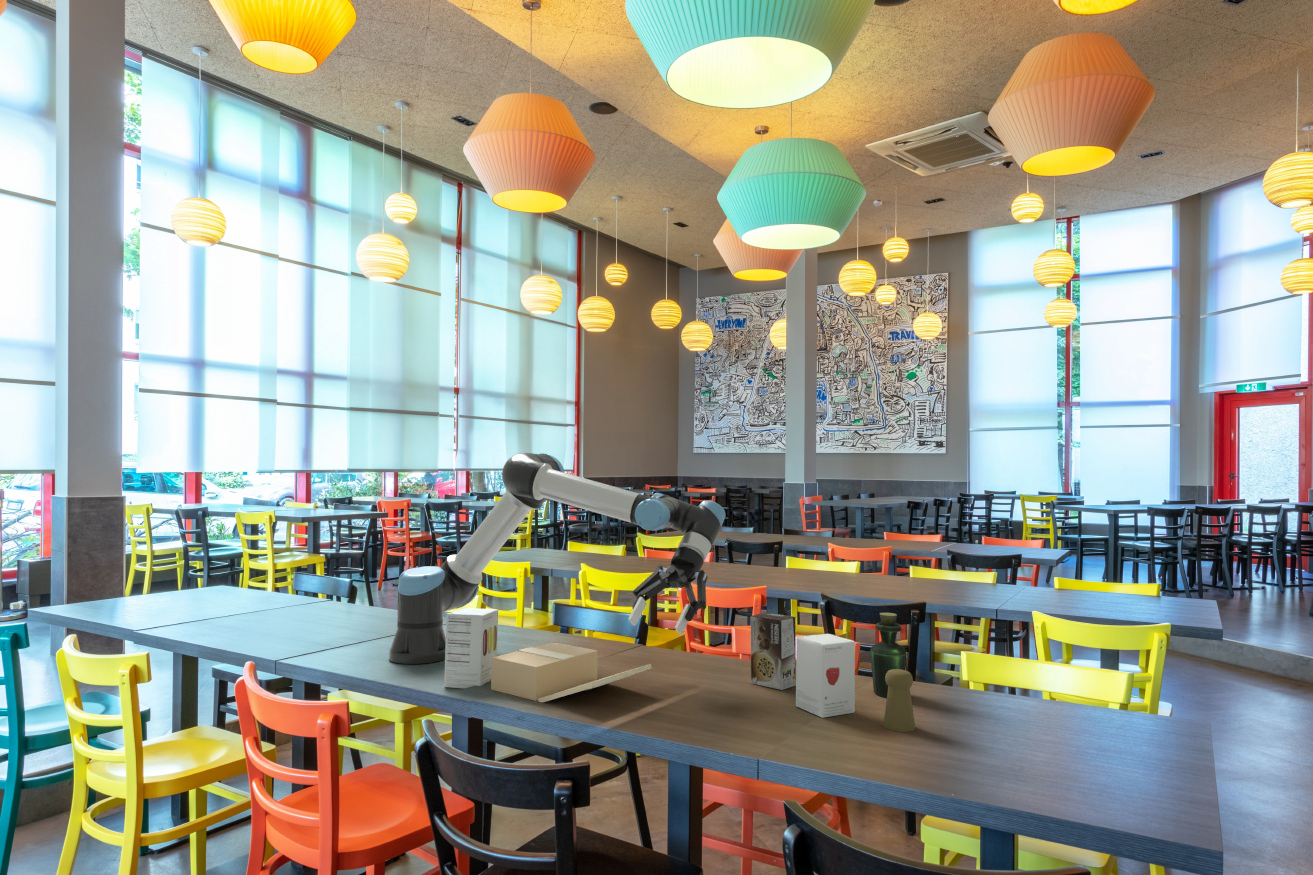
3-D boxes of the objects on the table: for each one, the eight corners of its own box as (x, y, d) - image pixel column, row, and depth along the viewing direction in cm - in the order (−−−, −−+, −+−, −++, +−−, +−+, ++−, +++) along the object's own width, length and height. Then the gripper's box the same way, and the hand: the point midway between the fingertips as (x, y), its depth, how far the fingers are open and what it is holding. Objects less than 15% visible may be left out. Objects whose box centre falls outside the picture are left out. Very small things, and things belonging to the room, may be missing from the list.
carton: (490, 693, 170) (491, 656, 170) (553, 675, 186) (553, 641, 186) (535, 705, 161) (536, 666, 162) (597, 685, 177) (598, 649, 178)
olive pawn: (911, 733, 146) (910, 675, 146) (879, 727, 149) (879, 671, 150) (918, 725, 151) (918, 669, 152) (888, 719, 154) (887, 664, 155)
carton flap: (537, 698, 161) (591, 682, 152) (599, 679, 177) (650, 663, 169) (539, 704, 161) (592, 688, 152) (600, 684, 177) (652, 668, 168)
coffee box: (797, 685, 179) (797, 616, 180) (781, 690, 174) (781, 619, 175) (765, 678, 185) (765, 611, 186) (749, 683, 181) (749, 614, 182)
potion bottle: (873, 687, 178) (873, 609, 179) (909, 691, 175) (909, 612, 176) (866, 695, 171) (866, 615, 172) (904, 700, 167) (904, 618, 168)
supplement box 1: (480, 690, 172) (482, 615, 173) (442, 687, 174) (444, 613, 175) (497, 679, 181) (499, 608, 182) (461, 677, 183) (463, 606, 184)
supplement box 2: (822, 718, 154) (822, 644, 155) (794, 706, 162) (794, 635, 163) (856, 712, 159) (856, 640, 159) (828, 701, 166) (828, 632, 167)
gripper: (739, 569, 184) (705, 644, 171) (656, 559, 198) (620, 627, 186) (728, 549, 179) (692, 625, 167) (644, 541, 194) (606, 610, 182)
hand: (654, 626), depth 177 cm, fingers open, 13 cm apart
